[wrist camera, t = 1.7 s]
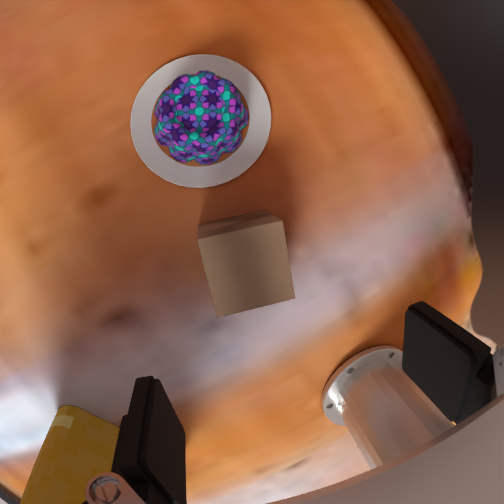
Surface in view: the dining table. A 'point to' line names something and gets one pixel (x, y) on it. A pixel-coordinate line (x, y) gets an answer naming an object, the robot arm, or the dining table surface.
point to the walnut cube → (246, 262)
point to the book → (71, 457)
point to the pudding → (200, 120)
